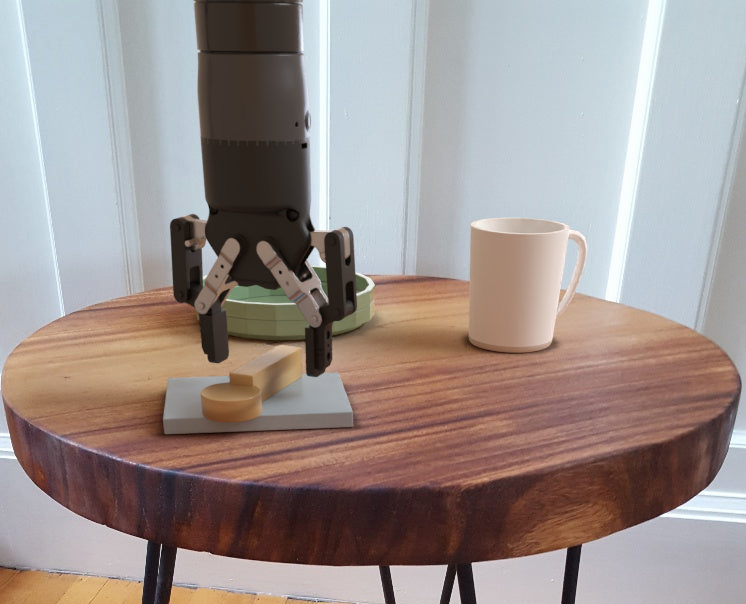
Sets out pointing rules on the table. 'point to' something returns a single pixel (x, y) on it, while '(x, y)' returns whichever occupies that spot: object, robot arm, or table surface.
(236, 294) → the pan
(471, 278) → the mug
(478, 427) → the table surface
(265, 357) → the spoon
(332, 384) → the board
